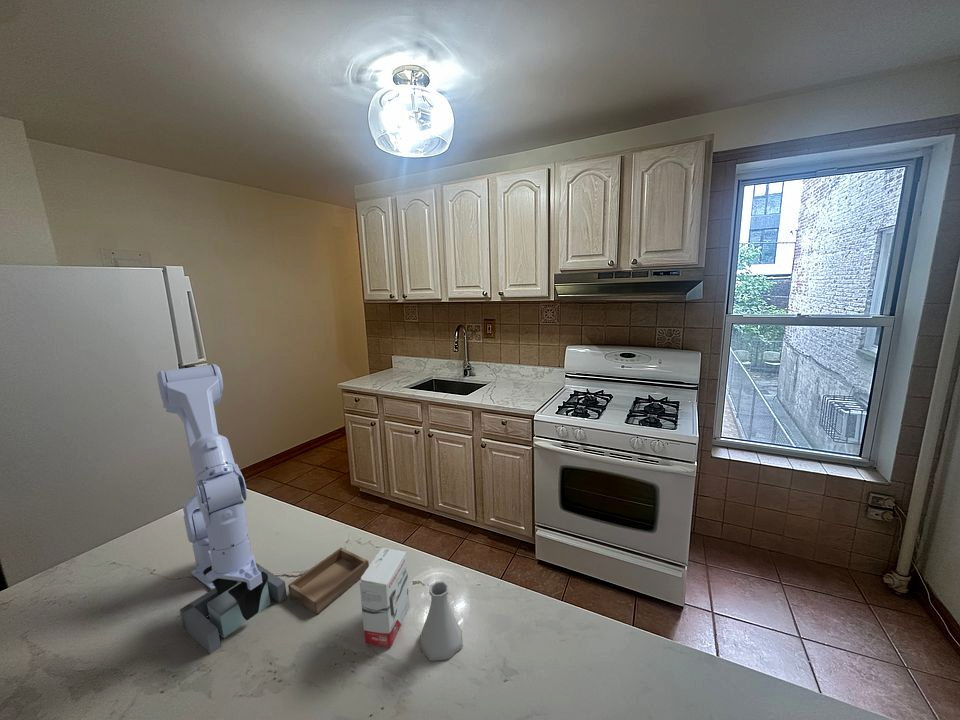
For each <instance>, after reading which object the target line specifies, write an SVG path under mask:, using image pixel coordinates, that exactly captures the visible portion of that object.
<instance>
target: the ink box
mask: <svg viewBox="0 0 960 720" xmlns="http://www.w3.org/2000/svg"><path fill="white" fill-rule="evenodd" d="M407 558H408V557H407V551H406V550H403V549H397V548H396V549H395V548H388V547H382V548H380V549H379V552H378V553H376V555H375V557H374V559H372V561H371V562H370V563H369V567H368V568H367V569H366V571H365V572H364V574H363V575H362V576H361V579H360V580H359V589H360V590H359V591H360V592H359V593H360V603H361V611H362V613H361V614H362V615H361V616H362V624H363V635H364V636H363V637H364V642H365V643H364V644H367V645H372V646H377V647H384V648H391V647H392V646H393V643H394V642H395V639H396V637H397V635H398V633H399V632H400V629H401V627H402V624H403V623H404V620H405V619H406V616H407V614H408V612H409V609H410V608H411V601H410V600H411V599H410V588H409V573H408V560H407Z"/></svg>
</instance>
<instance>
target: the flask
mask: <svg viewBox="0 0 960 720" xmlns="http://www.w3.org/2000/svg"><path fill="white" fill-rule="evenodd" d="M428 589H429V590H428V593H429V596H430V597H431V600H430V607H429V611H428V613H427V616H426V619H425V621H424V624H423V627H422V630H421V633H420V644H419V649H420V650H421V651H422V653H423V654H424V655H425V657H426V658H427V659H428V661H433V662H434V661H441V660H449V659H450V658H452V656H454V655H455V654H456V653H458V652H459V651H460V650H461V649H462V648H463V631H462V628H461V626H460V625H459V623H458V620H457V619H456V616H455V615H454V612H453V611H452V608H451V606H450V602H449V600H448V595H449V584H448V583H447V582H445V581H444V580H439V581H435V582H433V583H432V584H430V585H429V588H428Z"/></svg>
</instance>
